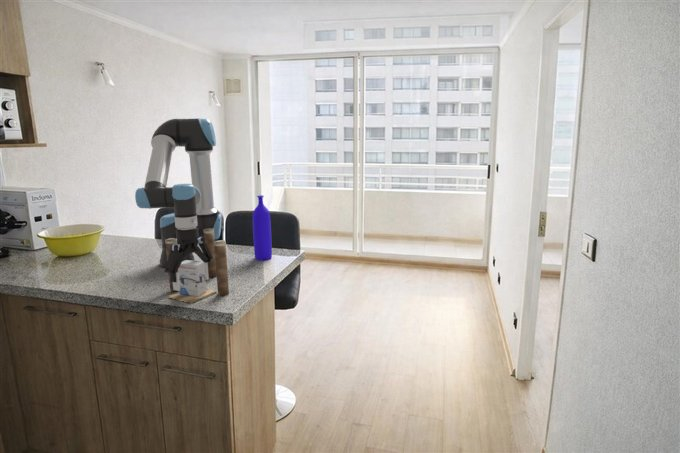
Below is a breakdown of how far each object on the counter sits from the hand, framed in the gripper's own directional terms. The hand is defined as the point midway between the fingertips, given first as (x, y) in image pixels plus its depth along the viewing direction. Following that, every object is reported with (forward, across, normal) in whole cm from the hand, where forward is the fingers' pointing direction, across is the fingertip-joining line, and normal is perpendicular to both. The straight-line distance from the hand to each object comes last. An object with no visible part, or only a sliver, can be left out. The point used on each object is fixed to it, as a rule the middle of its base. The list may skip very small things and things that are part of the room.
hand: (191, 284), depth 162 cm
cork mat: (+4, 0, 0) cm, 4 cm away
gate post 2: (+4, +20, +10) cm, 23 cm away
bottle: (+4, +52, +8) cm, 52 cm away
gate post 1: (+4, +1, +10) cm, 11 cm away
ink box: (+4, 0, 0) cm, 4 cm away
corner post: (+4, +6, -9) cm, 12 cm away
